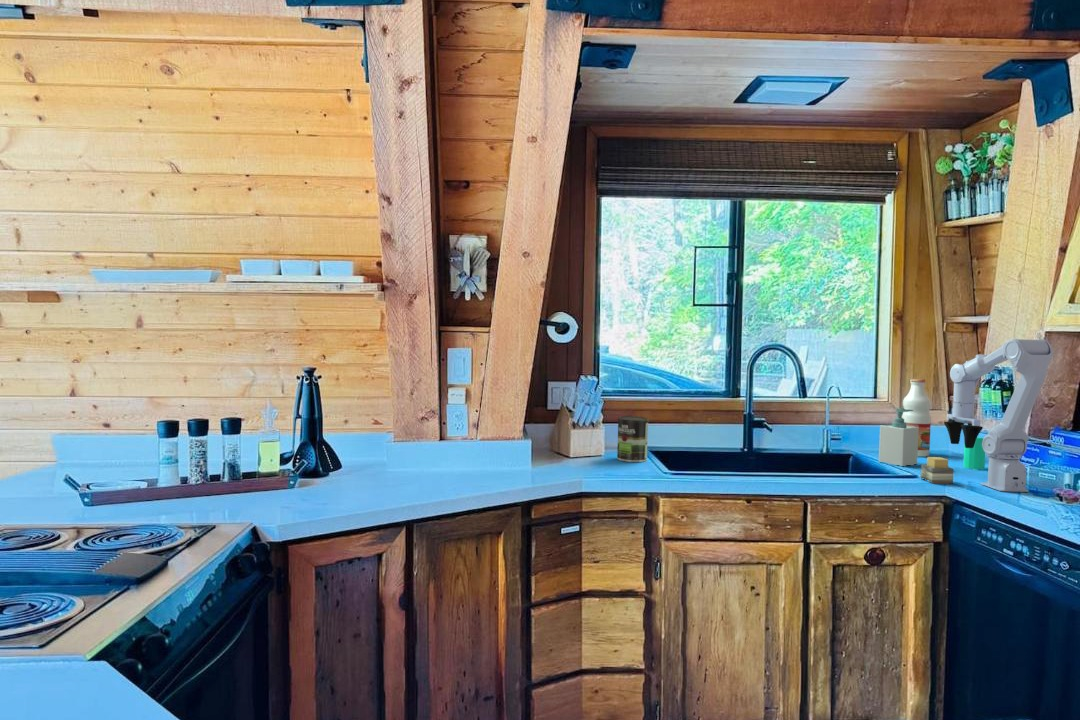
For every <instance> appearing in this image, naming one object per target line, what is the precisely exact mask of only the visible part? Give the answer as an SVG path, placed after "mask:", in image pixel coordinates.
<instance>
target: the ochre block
mask: <svg viewBox="0 0 1080 720" xmlns="http://www.w3.org/2000/svg"><path fill="white" fill-rule="evenodd" d="M926 458H927V459H926V460H927V461H926V464H927V466H930V467H933V468H948V467H949V459H948V458H943V457H940V456H938V457H937V456H926Z"/></svg>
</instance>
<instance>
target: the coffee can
mask: <svg viewBox="0 0 1080 720" xmlns="http://www.w3.org/2000/svg"><path fill="white" fill-rule="evenodd" d="M617 424H618V425H617V452H616V453H617V455H616V456H617V457H616V459H617V460H618V461H621V462H626V463H644V462H647V461H648V436H649V434H648V433H649V432H648V431H649V418H646V417H644V416H643V417H642V416H619V417H618V418H617Z"/></svg>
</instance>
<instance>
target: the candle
mask: <svg viewBox="0 0 1080 720" xmlns="http://www.w3.org/2000/svg"><path fill="white" fill-rule="evenodd" d="M984 437H985V436H984ZM984 437H983V436H982V437H980V436H977V439H976V441H975V444H974V447H973V448H965V442H964V441H963V447H964V448H963V462H962V467H963V468H964V467H965V468H964V469H967V468H970V469H969V470H973V469H984V470H985V466H986V465H985V464H986V462H985V461H986V453H985V452H984V450H983V447H982V442H983V439H984Z"/></svg>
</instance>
